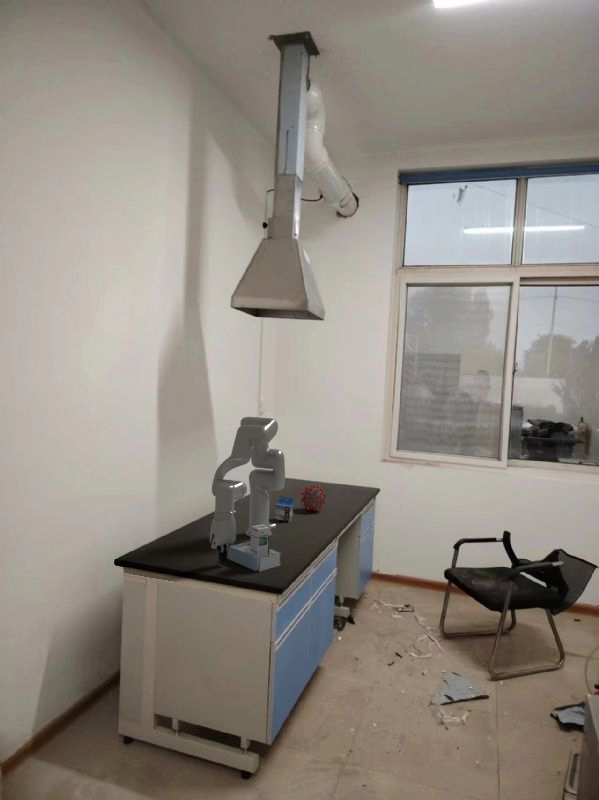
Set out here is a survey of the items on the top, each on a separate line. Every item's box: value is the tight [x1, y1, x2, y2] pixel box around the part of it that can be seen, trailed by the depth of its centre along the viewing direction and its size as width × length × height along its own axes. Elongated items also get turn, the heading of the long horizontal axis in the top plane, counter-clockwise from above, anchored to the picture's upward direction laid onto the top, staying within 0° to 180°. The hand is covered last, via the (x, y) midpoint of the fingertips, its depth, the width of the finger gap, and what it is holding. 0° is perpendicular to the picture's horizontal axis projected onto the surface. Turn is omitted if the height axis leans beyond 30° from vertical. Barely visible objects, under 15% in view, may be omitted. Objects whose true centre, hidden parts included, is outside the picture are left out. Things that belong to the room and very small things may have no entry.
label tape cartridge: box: [274, 495, 294, 523], centre depth 273 cm, size 9×4×12 cm, turn 62°
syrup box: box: [250, 524, 271, 561], centre depth 205 cm, size 6×6×14 cm
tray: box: [228, 545, 273, 572], centre depth 208 cm, size 11×17×5 cm, turn 45°
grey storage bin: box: [232, 540, 282, 573], centre depth 209 cm, size 11×19×5 cm, turn 45°
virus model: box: [300, 484, 327, 512], centre depth 297 cm, size 14×15×15 cm
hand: (222, 560), depth 203 cm, fingers closed
